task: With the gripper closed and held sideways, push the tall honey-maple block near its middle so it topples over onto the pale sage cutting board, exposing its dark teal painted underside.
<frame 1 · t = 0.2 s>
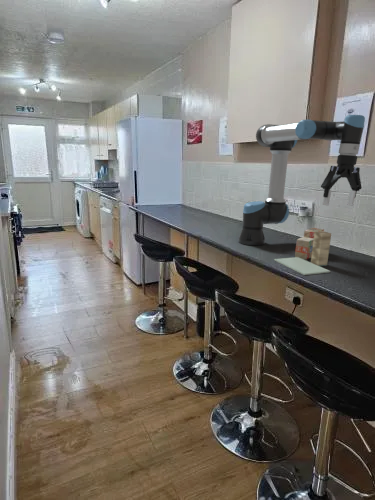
hand: (337, 205, 143), 27 cm above the table, tool pointing down, fingers open, 13 cm apart
maple block: (318, 264, 151), on the table
stack of blocks: (308, 254, 168), on the table
sage cutting board: (300, 266, 148), on the table
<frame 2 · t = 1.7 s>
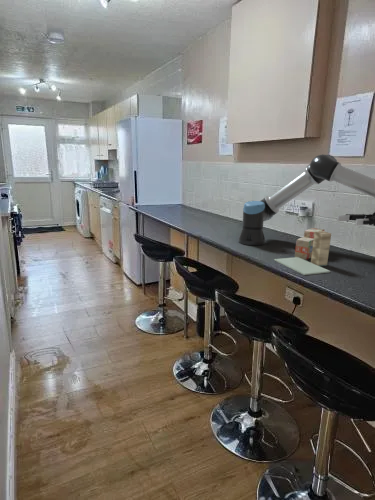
hand: (346, 220, 150), 20 cm above the table, tool horizontal, fingers open, 10 cm apart
nothing on the table moved.
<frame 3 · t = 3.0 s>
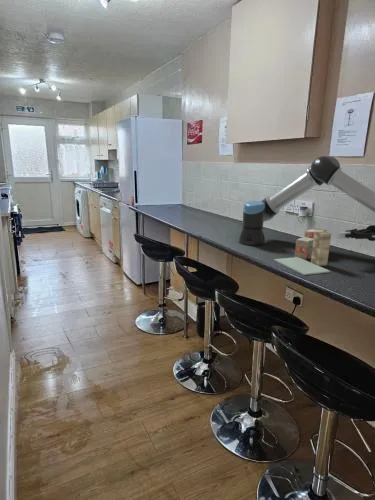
hand: (338, 235, 150), 13 cm above the table, tool horizontal, fingers closed
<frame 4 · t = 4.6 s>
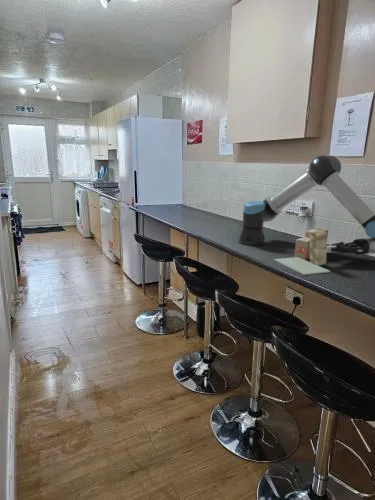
hand: (323, 249, 150), 7 cm above the table, tool horizontal, fingers closed
maple block: (317, 263, 151), on the table, tilted 8°, touching gripper
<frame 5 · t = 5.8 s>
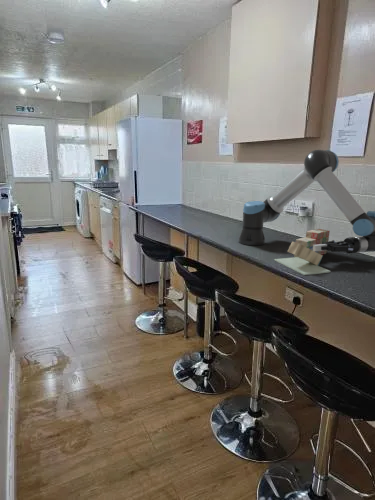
hand: (313, 248, 148), 8 cm above the table, tool horizontal, fingers closed
maple block: (316, 259, 150), point 3 cm above the table, tilted 65°, touching gripper, sage cutting board
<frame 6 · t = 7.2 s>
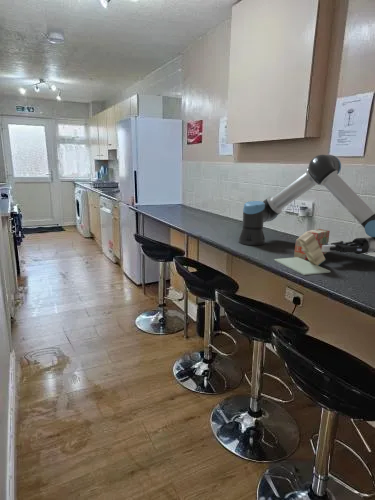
hand: (322, 248, 149), 7 cm above the table, tool horizontal, fingers closed
maple block: (317, 261, 151), point 1 cm above the table, tilted 34°
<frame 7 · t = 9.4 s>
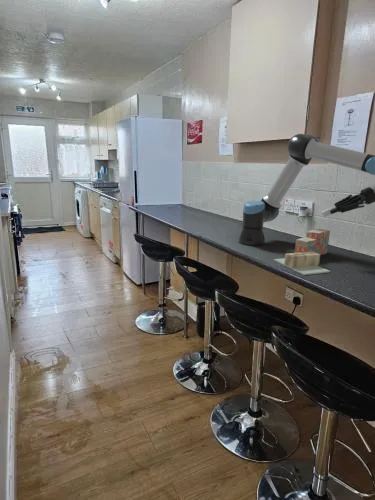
hand: (322, 214, 156), 22 cm above the table, tool tilted 65°, fingers closed
maple block: (316, 258, 150), point 3 cm above the table, tilted 90°, touching sage cutting board
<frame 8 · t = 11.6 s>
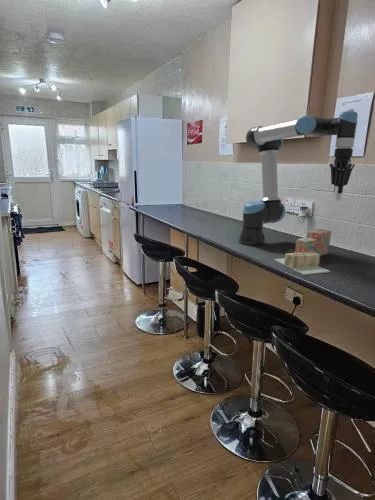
hand: (336, 200, 155), 28 cm above the table, tool pointing down, fingers closed
at the end: maple block tilted 90°; maple block inside the target area (0.0 cm from its centre), point 3.1 cm above the table; maple block touching sage cutting board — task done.
